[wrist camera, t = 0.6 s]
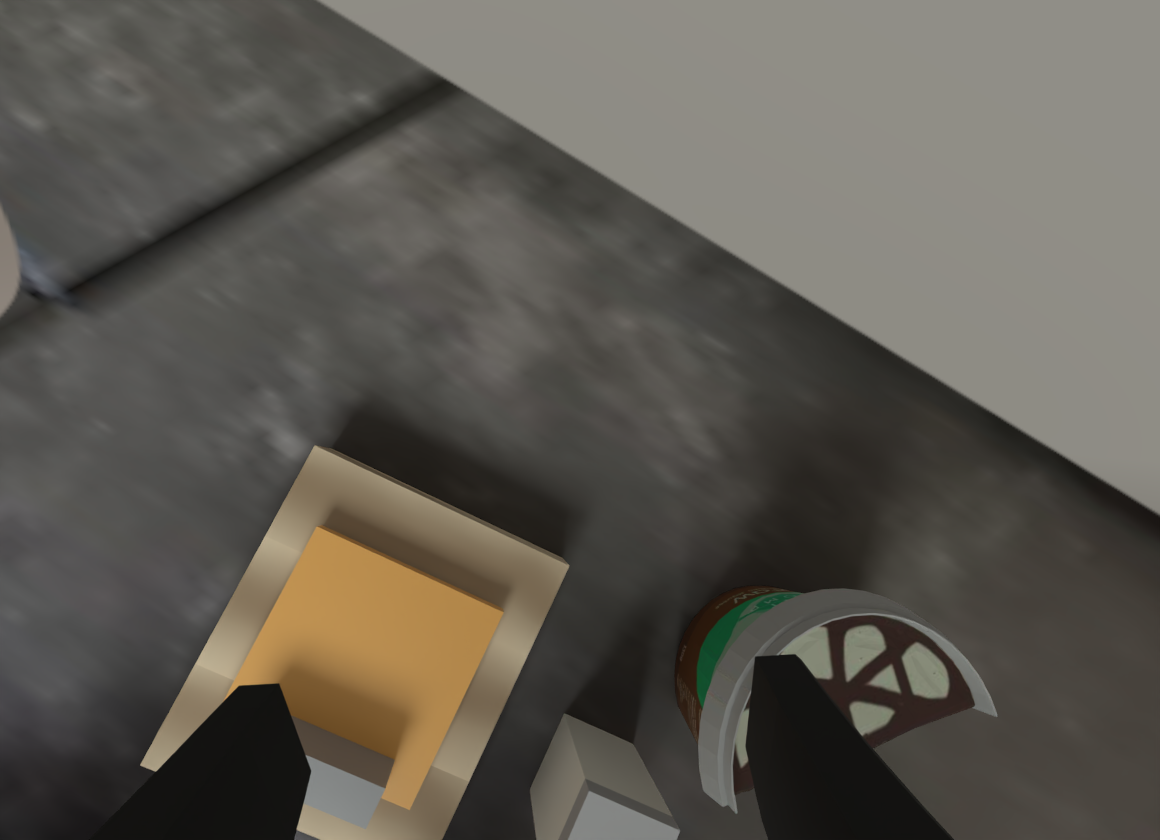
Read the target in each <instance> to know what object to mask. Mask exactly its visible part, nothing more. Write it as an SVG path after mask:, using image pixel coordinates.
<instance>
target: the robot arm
mask: <svg viewBox="0 0 1160 840" xmlns="http://www.w3.org/2000/svg"><path fill="white" fill-rule="evenodd" d="M745 747H746V752H747V757H748V761H749V766H750V770H751V775H752V779H753V784H754V788H755V792H756V797H757V801H758V805H759V809H760V814H761V818H762V822H763V825H764V828H765V831H766V834H767V837H768V840H954V839H953V838H952V837H951V836H950V835H949V834H948V833H947V832H946V830H945V829H944V828H943V827H942V826H941V825H940V824H939V823H938V822H937V821H936V820H935V818H934V817H933V816H932V815H931V814H930V813H929V812H928V811H927V810H926V809H925V808H924V806H923V805H922V804H921V803H920V802H919V801H918V800H917V799H916V798H915V796H914V795H913V794H912V793H911V792H910V791H909V790H908V788H907V787H906V786H905V785H904V784H903V783H902V782H901V780H900V779H899V778H898V777H897V776H896V775H895V774H894V772H893V771H892V770H891V769H890V768H889V767H888V766H887V765H886V763H885V762H884V761H883V760H882V759H881V758H880V756H879V755H878V754H877V753H876V752H875V751H874V749H873V748H872V747H871V746H870V745H869V744H868V742H867V741H866V740H865V739H864V738H863V736H862V735H861V734H860V733H859V731H858V730H857V729H856V728H855V727H854V725H853V724H852V723H851V722H850V721H849V719H848V718H847V717H846V716H845V714H844V713H843V712H842V711H841V709H840V708H839V707H838V706H837V704H836V703H835V702H834V701H833V700H832V698H831V697H830V696H829V694H828V693H827V692H826V691H825V689H824V688H823V687H822V686H821V684H820V683H819V682H818V680H817V679H816V678H815V677H814V675H813V674H812V673H811V671H810V670H809V669H808V667H807V666H806V665H805V664H804V662H803V661H802V660H801V659H800V658H799V657H798V656H797V655H796V654H788V655H770V656H755V661H754V670H753V679H752V689H751V698H750V707H749V716H748V726H747V735H746V744H745ZM310 775H311V768H310V766H309V763H308V760H307V758H306V755H305V752H304V749H303V747H302V744H301V741H300V738H299V736H298V733H297V730H296V728H295V725H294V722H293V719H292V717H291V714H290V711H289V709H288V706H287V703H286V700H285V698H284V695H283V692H282V689H281V687H280V684H279V683H275V684H258V685H240V686H238V687H237V688H236V689H235V690H234V691H233V692H232V693H231V694H230V695H229V696H228V697H227V698H226V699H225V700H224V701H223V702H222V703H221V704H220V705H219V707H218V708H217V709H216V710H215V711H214V712H213V713H212V714H211V715H210V716H209V717H208V718H207V719H206V720H205V721H204V722H203V723H202V724H201V725H200V726H199V727H198V728H197V729H196V730H195V731H194V732H193V734H192V735H191V736H190V737H189V738H188V739H187V740H186V741H185V742H184V743H183V744H182V745H181V746H180V747H179V748H178V749H177V750H176V751H175V752H174V753H173V754H172V755H171V757H170V758H169V759H168V760H167V761H166V762H165V763H164V764H163V765H162V766H161V767H160V768H159V769H158V770H157V771H156V772H155V773H154V774H153V775H152V776H151V777H150V778H149V779H148V780H147V781H146V783H145V784H144V785H143V786H142V787H141V788H140V789H139V790H138V791H137V792H136V793H135V794H134V795H133V796H132V797H131V798H130V799H129V800H128V801H127V802H126V803H125V804H124V805H123V806H122V807H121V808H120V809H119V810H118V811H117V812H116V813H115V814H114V815H113V816H112V817H111V818H110V819H109V820H108V821H107V822H106V823H105V824H104V825H103V826H102V827H101V828H100V829H99V830H98V831H97V832H96V833H95V834H94V835H93V836H92V837H91V838H90V839H89V840H294V837H295V834H296V830H297V826H298V823H299V819H300V815H301V812H302V808H303V804H304V800H305V796H306V792H307V788H308V784H309V780H310Z"/></svg>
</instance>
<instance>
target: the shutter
mask: <svg viewBox="0 0 1160 840" xmlns="http://www.w3.org/2000/svg"><path fill="white" fill-rule="evenodd" d="M503 613H504V610H503V608H501V607H499V606H496V605H494V604H492V603H490V602H488V601H486V600H483V599H481V598H479V597H477V596H475V595H473V594H470V593H468V592H466V591H464V590H462V589H460V588H457V587H455V586H453V585H451V584H449V583H447V582H444V581H442V580H440V579H438V578H436V577H433V576H431V575H429V574H427V573H425V572H423V571H420V570H418V569H416V568H414V567H412V566H410V565H407V564H405V563H403V562H401V561H399V560H397V559H394V558H392V557H390V556H388V555H386V554H384V553H381V552H379V551H377V550H375V549H373V548H371V547H368V546H366V545H364V544H362V543H360V542H358V541H355V540H353V539H351V538H349V537H347V536H344V535H342V534H340V533H338V532H336V531H334V530H331V529H329V528H327V527H325V526H323V525H320V526H317V527H316V529H315V530H314V532H313V534H312V536H311V538H310V540H309V542H308V544H307V545H306V547H305V549H304V551H303V553H302V555H301V557H300V559H299V560H298V562H297V564H296V566H295V568H294V570H293V572H292V573H291V575H290V577H289V579H288V581H287V583H286V585H285V587H284V588H283V590H282V592H281V594H280V596H279V598H278V600H277V602H276V603H275V605H274V607H273V609H272V611H271V613H270V615H269V617H268V618H267V620H266V622H265V624H264V626H263V628H262V630H261V632H260V633H259V635H258V637H257V639H256V641H255V643H254V645H253V646H252V648H251V650H250V652H249V654H248V656H247V658H246V660H245V661H244V663H243V665H242V667H241V669H240V671H239V673H238V675H237V676H236V678H235V680H234V682H233V684H232V686H231V688H230V690H229V691H228V693H227V695H226V697H225V699H226V698H227V697H228V696H229V695H230V694H231V693H232V692H233V691H234V690H235V689H236V688H237V687H238V686H240V685H258V684H275V683H279V684H280V687H281V689H282V692H283V695H284V698H285V700H286V703H287V706H288V709H289V711H290V714H291V717H292V719H293V722H294V725H295V728H296V730H297V733H298V736H299V738H300V741H301V744H302V747H303V749H304V752H305V755H306V758H307V760H308V763H309V766H310V768H311V775H310V780H309V784H308V788H307V792H306V796H305V800H304V804H306V805H309V806H311V807H313V808H316V809H318V810H321V811H323V812H325V813H328V814H330V815H333V816H335V817H337V818H340V819H342V820H345V821H347V822H349V823H352V824H354V825H357V826H359V827H361V828H364V829H366V828H367V826H368V824H369V821H370V819H371V817H372V815H373V813H374V811H375V809H376V807H377V805H378V803H379V801H380V799H381V798H382V799H384V800H387V801H389V802H391V803H394V804H396V805H399V806H401V807H403V808H406V809H408V810H410V808H411V806H412V804H413V802H414V800H415V798H416V796H417V794H418V792H419V789H420V787H421V785H422V783H423V781H424V779H425V777H426V775H427V773H428V771H429V768H430V766H431V764H432V762H433V760H434V758H435V756H436V754H437V752H438V750H439V747H440V745H441V743H442V741H443V739H444V737H445V735H446V733H447V731H448V729H449V726H450V724H451V722H452V720H453V718H454V716H455V714H456V712H457V710H458V708H459V705H460V703H461V701H462V699H463V697H464V695H465V693H466V691H467V689H468V687H469V684H470V682H471V680H472V678H473V676H474V674H475V672H476V670H477V668H478V666H479V663H480V661H481V659H482V657H483V655H484V653H485V651H486V649H487V647H488V645H489V642H490V640H491V638H492V636H493V634H494V632H495V630H496V628H497V626H498V624H499V621H500V619H501V617H502V615H503ZM225 699H224V700H225Z"/></svg>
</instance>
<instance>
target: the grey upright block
mask: <svg viewBox="0 0 1160 840" xmlns="http://www.w3.org/2000/svg"><path fill="white" fill-rule="evenodd" d="M530 796H531V803H532V811H533V818H534V826H535V833H536V840H677V838H678V835H679V833H680V829H679V827H678V826H677V824H676V822H675V820H674V818H673V816H672V814H671V813H670V811H669V809H668V807H667V805H666V803H665V802H664V800H663V798H662V796H661V794H660V792H659V791H658V789H657V787H656V785H655V783H654V781H653V779H652V778H651V776H650V774H649V772H648V770H647V768H646V767H645V765H644V763H643V761H642V759H641V757H640V756H639V754H638V752H637V750H636V748H635V746H634V744H632V743H630V742H628V741H625V740H623V739H621V738H619V737H616V736H614V735H612V734H610V733H608V732H605V731H603V730H601V729H599V728H596V727H594V726H592V725H590V724H587V723H585V722H583V721H581V720H578V719H576V718H574V717H572V716H570V715H567V714H565V713H564V714H563V717H562V719H561V721H560V723H559V726H558V728H557V730H556V732H555V734H554V737H553V739H552V741H551V743H550V746H549V748H548V750H547V752H546V754H545V757H544V759H543V761H542V763H541V766H540V768H539V770H538V772H537V774H536V777H535V779H534V781H533V783H532V786H531V788H530Z"/></svg>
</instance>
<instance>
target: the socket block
mask: <svg viewBox="0 0 1160 840" xmlns="http://www.w3.org/2000/svg"><path fill="white" fill-rule="evenodd" d="M320 525H323V526H325V527H327V528H329V529H331V530H334V531H336V532H338V533H340V534H342V535H344V536H347V537H349V538H351V539H353V540H355V541H358V542H360V543H362V544H364V545H366V546H368V547H371V548H373V549H375V550H377V551H379V552H381V553H384V554H386V555H388V556H390V557H392V558H394V559H397V560H399V561H401V562H403V563H405V564H407V565H410V566H412V567H414V568H416V569H418V570H420V571H423V572H425V573H427V574H429V575H431V576H433V577H436V578H438V579H440V580H442V581H444V582H447V583H449V584H451V585H453V586H455V587H457V588H460V589H462V590H464V591H466V592H468V593H470V594H473V595H475V596H477V597H479V598H481V599H483V600H486V601H488V602H490V603H492V604H494V605H496V606H499V607H501V608H503V610H504V613H503V615H502V617H501V619H500V621H499V624H498V626H497V628H496V630H495V632H494V634H493V636H492V638H491V640H490V642H489V645H488V647H487V649H486V651H485V653H484V655H483V657H482V659H481V661H480V663H479V666H478V668H477V670H476V672H475V674H474V676H473V678H472V680H471V682H470V684H469V687H468V689H467V691H466V693H465V695H464V697H463V699H462V701H461V703H460V705H459V708H458V710H457V712H456V714H455V716H454V718H453V720H452V722H451V724H450V726H449V729H448V731H447V733H446V735H445V737H444V739H443V741H442V743H441V745H440V747H439V750H438V752H437V754H436V756H435V758H434V760H433V762H432V764H431V766H430V768H429V771H428V773H427V775H426V777H425V779H424V781H423V783H422V785H421V787H420V789H419V792H418V794H417V796H416V798H415V800H414V802H413V804H412V806H411V808H410V810H408V809H406V808H403V807H401V806H399V805H396V804H394V803H391V802H389V801H387V800H384V799H382V798H381V799H380V801H379V803H378V805H377V807H376V809H375V811H374V813H373V815H372V817H371V819H370V821H369V824H368V826H367V828H366V829H364V828H361V827H359V826H357V825H354V824H352V823H349V822H347V821H345V820H342V819H340V818H337V817H335V816H333V815H330V814H328V813H325V812H323V811H321V810H318V809H316V808H313V807H311V806H309V805H306V804H303V808H302V812H301V815H300V819H299V823H298V826H297V830H298V831H301V832H303V833H306V834H308V835H310V836H313V837H315V838H318V839H320V840H442V839H443V837H444V834H445V832H446V830H447V828H448V826H449V824H450V822H451V819H452V817H453V815H454V813H455V811H456V809H457V806H458V804H459V802H460V800H461V798H462V796H463V794H464V791H465V789H466V787H467V785H468V783H469V781H470V779H471V776H472V774H473V772H474V770H475V768H476V766H477V764H478V761H479V759H480V757H481V755H482V753H483V751H484V748H485V746H486V744H487V742H488V740H489V738H490V736H491V733H492V731H493V729H494V727H495V725H496V723H497V721H498V718H499V716H500V714H501V712H502V710H503V708H504V705H505V703H506V701H507V699H508V697H509V695H510V693H511V690H512V688H513V686H514V684H515V682H516V680H517V678H518V675H519V673H520V671H521V669H522V667H523V665H524V663H525V660H526V658H527V656H528V654H529V652H530V650H531V647H532V645H533V643H534V641H535V639H536V637H537V635H538V632H539V630H540V628H541V626H542V624H543V622H544V620H545V617H546V615H547V613H548V611H549V609H550V607H551V604H552V602H553V600H554V598H555V596H556V594H557V592H558V589H559V587H560V585H561V583H562V581H563V579H564V577H565V574H566V572H567V570H568V568H569V565H568V564H567V562H566V561H565V560H564V559H563V558H562V557H560V556H558V555H555V554H553V553H551V552H549V551H547V550H545V549H543V548H541V547H538V546H536V545H534V544H532V543H530V542H528V541H526V540H524V539H522V538H519V537H517V536H515V535H513V534H511V533H509V532H507V531H505V530H503V529H500V528H498V527H496V526H494V525H492V524H490V523H488V522H486V521H484V520H481V519H479V518H477V517H475V516H473V515H471V514H469V513H467V512H465V511H462V510H460V509H458V508H456V507H454V506H452V505H450V504H448V503H445V502H443V501H441V500H439V499H437V498H435V497H433V496H431V495H429V494H426V493H424V492H422V491H420V490H418V489H416V488H414V487H412V486H410V485H407V484H405V483H403V482H401V481H399V480H397V479H395V478H393V477H391V476H388V475H386V474H384V473H382V472H380V471H378V470H376V469H374V468H372V467H369V466H367V465H365V464H363V463H361V462H359V461H357V460H355V459H352V458H350V457H348V456H346V455H344V454H342V453H340V452H338V451H336V450H333V449H331V448H326V447H321V446H314V448H313V449H312V451H311V453H310V455H309V457H308V459H307V460H306V462H305V464H304V466H303V468H302V470H301V471H300V473H299V475H298V477H297V479H296V481H295V482H294V484H293V486H292V488H291V490H290V492H289V493H288V495H287V497H286V499H285V501H284V503H283V504H282V506H281V508H280V510H279V512H278V514H277V515H276V517H275V519H274V521H273V523H272V524H271V526H270V528H269V530H268V532H267V534H266V535H265V537H264V539H263V541H262V543H261V545H260V546H259V548H258V550H257V552H256V554H255V556H254V557H253V559H252V561H251V563H250V565H249V567H248V568H247V570H246V572H245V574H244V576H243V578H242V579H241V581H240V583H239V585H238V587H237V589H236V590H235V592H234V594H233V596H232V598H231V600H230V601H229V603H228V605H227V607H226V609H225V611H224V612H223V614H222V616H221V618H220V620H219V622H218V623H217V625H216V627H215V629H214V631H213V633H212V634H211V636H210V638H209V640H208V642H207V644H206V645H205V647H204V649H203V651H202V653H201V655H200V656H199V658H198V660H197V662H196V664H195V666H194V667H193V669H192V671H191V673H190V675H189V677H188V678H187V680H186V682H185V684H184V686H183V687H182V689H181V691H180V693H179V695H178V697H177V698H176V700H175V702H174V704H173V706H172V708H171V709H170V711H169V713H168V715H167V717H166V719H165V720H164V722H163V724H162V726H161V728H160V730H159V731H158V733H157V735H156V737H155V739H154V741H153V742H152V744H151V746H150V748H149V750H148V752H147V753H146V755H145V757H144V759H143V761H142V763H141V764H140V766H143V767H145V768H148V769H150V770H153V771H155V772H156V771H157V770H158V769H159V768H160V767H161V766H162V765H163V764H164V763H165V762H166V761H167V760H168V759H169V758H170V757H171V755H172V754H173V753H174V752H175V751H176V750H177V749H178V748H179V747H180V746H181V745H182V744H183V743H184V742H185V741H186V740H187V739H188V738H189V737H190V736H191V735H192V734H193V732H194V731H195V730H196V729H197V728H198V727H199V726H200V725H201V724H202V723H203V722H204V721H205V720H206V719H207V718H208V717H209V716H210V715H211V714H212V713H213V712H214V711H215V710H216V709H217V708H218V707H219V705H220V704H221V703H222V702H223V701H224V699H225V697H226V695H227V693H228V691H229V690H230V688H231V686H232V684H233V682H234V680H235V678H236V676H237V675H238V673H239V671H240V669H241V667H242V665H243V663H244V661H245V660H246V658H247V656H248V654H249V652H250V650H251V648H252V646H253V645H254V643H255V641H256V639H257V637H258V635H259V633H260V632H261V630H262V628H263V626H264V624H265V622H266V620H267V618H268V617H269V615H270V613H271V611H272V609H273V607H274V605H275V603H276V602H277V600H278V598H279V596H280V594H281V592H282V590H283V588H284V587H285V585H286V583H287V581H288V579H289V577H290V575H291V573H292V572H293V570H294V568H295V566H296V564H297V562H298V560H299V559H300V557H301V555H302V553H303V551H304V549H305V547H306V545H307V544H308V542H309V540H310V538H311V536H312V534H313V532H314V530H315V529H316V527H317V526H320Z"/></svg>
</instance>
